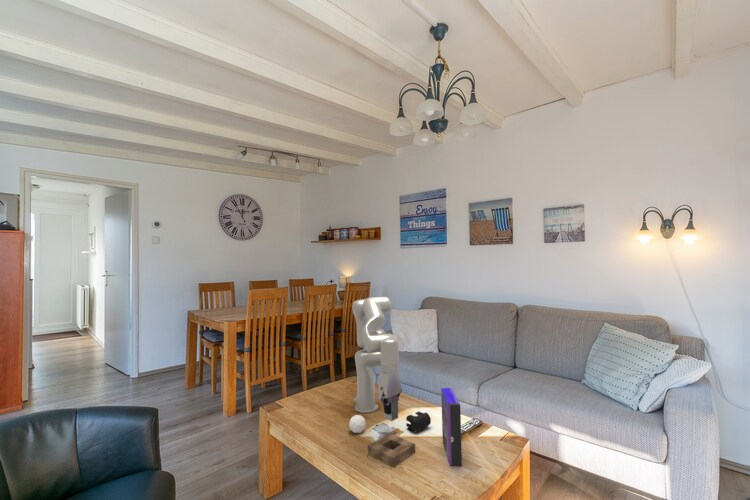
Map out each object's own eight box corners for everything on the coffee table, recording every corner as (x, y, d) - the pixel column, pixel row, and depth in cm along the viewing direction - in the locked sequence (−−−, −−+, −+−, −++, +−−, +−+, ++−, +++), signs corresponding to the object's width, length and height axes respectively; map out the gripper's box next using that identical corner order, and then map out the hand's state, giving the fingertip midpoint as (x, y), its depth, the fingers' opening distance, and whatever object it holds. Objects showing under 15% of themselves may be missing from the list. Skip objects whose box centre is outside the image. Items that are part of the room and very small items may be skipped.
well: (368, 454, 151) (368, 445, 151) (390, 440, 161) (390, 432, 161) (393, 467, 141) (393, 458, 141) (415, 452, 151) (415, 443, 151)
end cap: (416, 435, 165) (416, 420, 165) (405, 429, 171) (405, 415, 171) (431, 428, 172) (430, 414, 172) (420, 423, 177) (420, 409, 177)
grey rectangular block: (384, 418, 151) (384, 394, 151) (390, 415, 154) (390, 391, 154) (391, 421, 148) (391, 396, 148) (398, 417, 151) (397, 393, 151)
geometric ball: (360, 439, 168) (362, 430, 163) (345, 431, 170) (346, 422, 166) (367, 425, 174) (369, 416, 169) (352, 417, 176) (354, 408, 172)
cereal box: (442, 442, 158) (441, 388, 159) (453, 442, 158) (452, 387, 158) (449, 466, 141) (448, 404, 141) (461, 466, 141) (460, 404, 141)
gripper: (395, 361, 160) (397, 403, 160) (369, 371, 148) (370, 416, 148) (409, 365, 155) (410, 407, 154) (383, 375, 143) (384, 421, 142)
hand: (391, 411), depth 151 cm, fingers closed on grey rectangular block, 4 cm apart
